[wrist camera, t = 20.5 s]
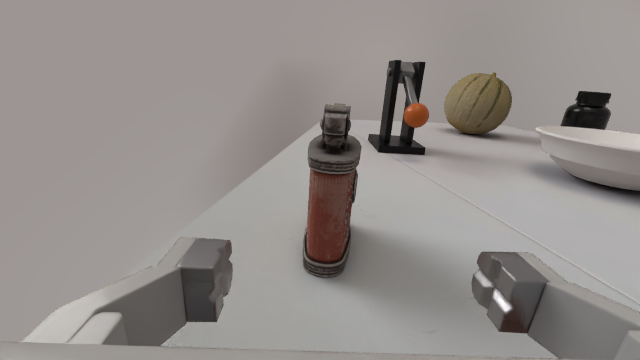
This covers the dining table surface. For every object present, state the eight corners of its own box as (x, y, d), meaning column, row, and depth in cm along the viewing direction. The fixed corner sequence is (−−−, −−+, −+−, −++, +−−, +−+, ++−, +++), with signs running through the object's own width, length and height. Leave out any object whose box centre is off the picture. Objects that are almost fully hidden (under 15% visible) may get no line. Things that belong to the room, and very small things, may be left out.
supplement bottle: (589, 159, 57) (614, 93, 53) (547, 150, 62) (567, 90, 58) (598, 155, 61) (622, 93, 57) (558, 147, 66) (577, 90, 62)
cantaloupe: (427, 129, 80) (437, 69, 75) (464, 128, 86) (476, 72, 81) (476, 140, 67) (493, 69, 62) (515, 138, 74) (533, 74, 69)
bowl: (538, 157, 55) (549, 122, 53) (705, 190, 42) (729, 145, 40) (507, 177, 42) (520, 131, 40) (738, 233, 29) (776, 170, 26)
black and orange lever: (424, 154, 51) (441, 62, 46) (378, 152, 51) (390, 58, 46) (407, 142, 61) (419, 64, 56) (368, 139, 60) (377, 61, 55)
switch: (426, 133, 45) (435, 114, 42) (402, 131, 45) (410, 113, 42) (410, 77, 54) (417, 59, 51) (391, 76, 54) (396, 57, 51)
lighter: (349, 280, 18) (368, 114, 15) (294, 273, 19) (301, 109, 15) (350, 220, 26) (363, 102, 23) (311, 216, 26) (319, 98, 23)
